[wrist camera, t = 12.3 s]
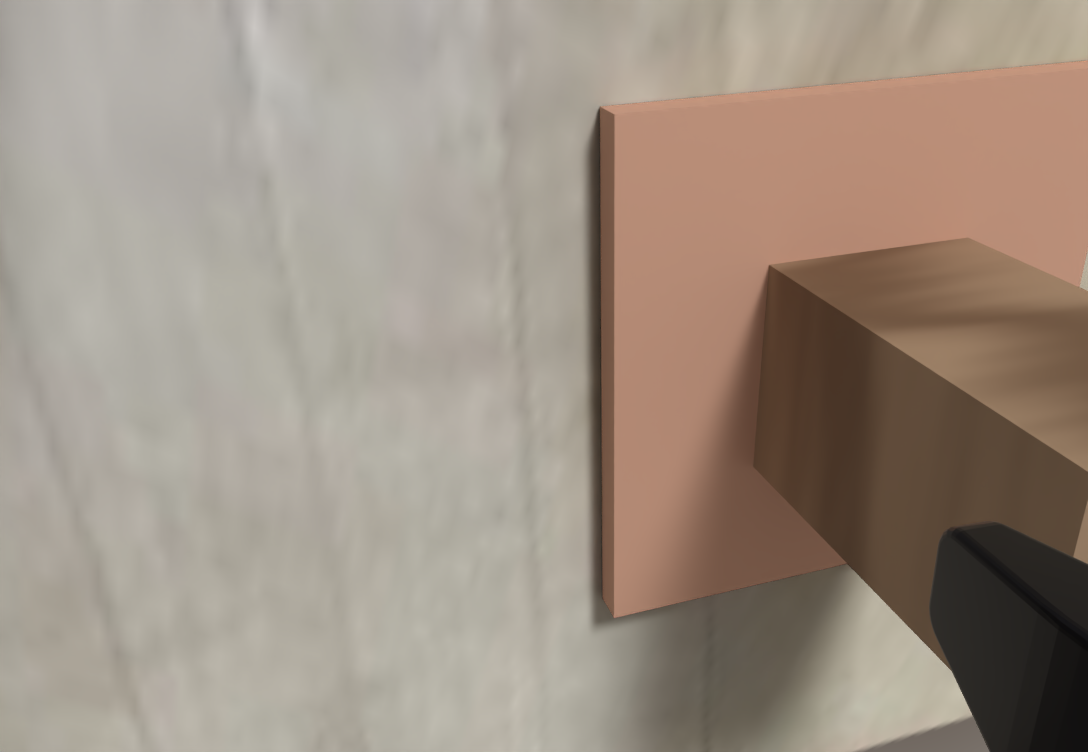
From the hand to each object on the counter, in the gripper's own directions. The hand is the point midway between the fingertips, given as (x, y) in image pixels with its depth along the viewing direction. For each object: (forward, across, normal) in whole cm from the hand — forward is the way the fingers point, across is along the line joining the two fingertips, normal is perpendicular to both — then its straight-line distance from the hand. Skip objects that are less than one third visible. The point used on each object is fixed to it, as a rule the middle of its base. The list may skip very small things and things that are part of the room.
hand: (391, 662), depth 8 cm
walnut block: (+13, -10, +6) cm, 18 cm away
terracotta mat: (+14, -10, +6) cm, 18 cm away
